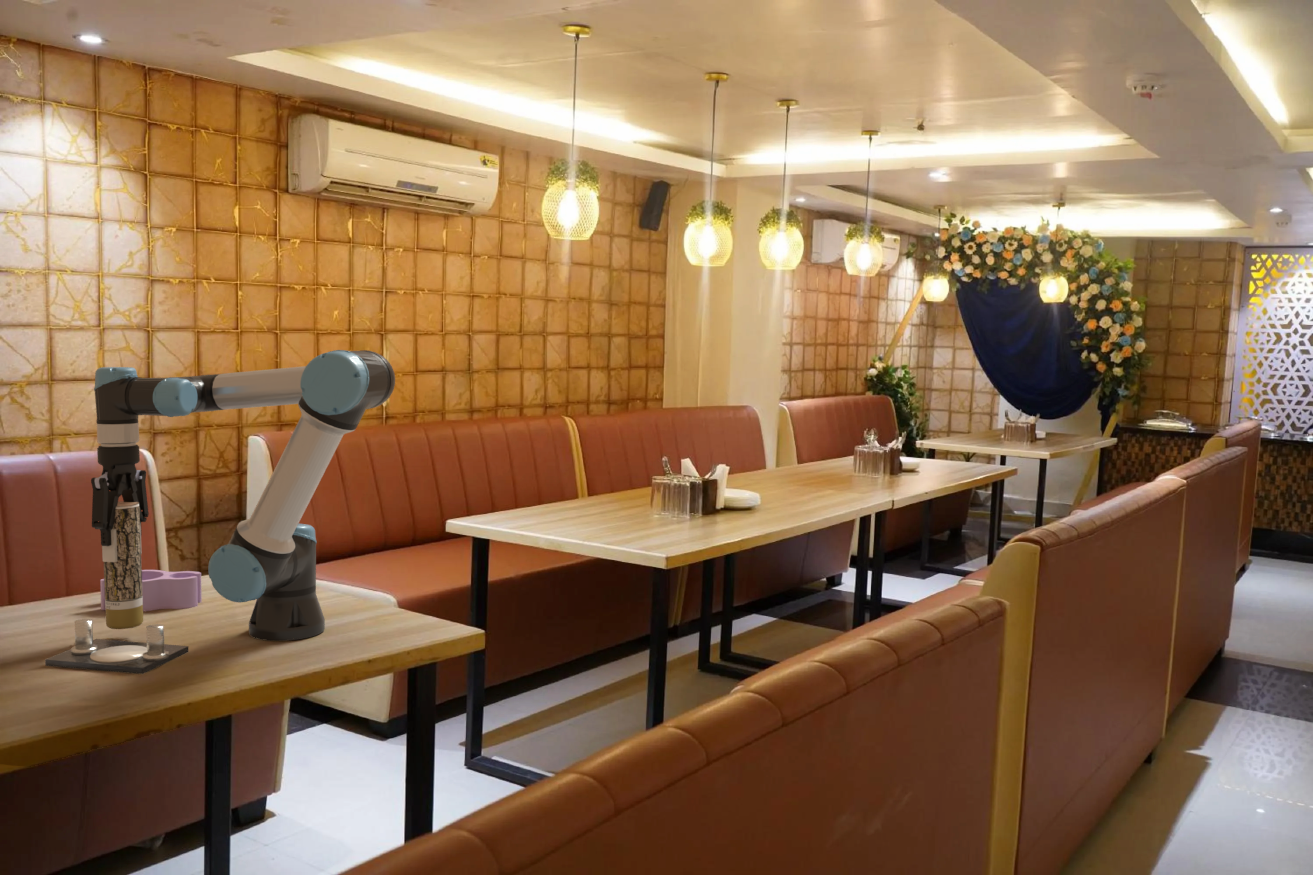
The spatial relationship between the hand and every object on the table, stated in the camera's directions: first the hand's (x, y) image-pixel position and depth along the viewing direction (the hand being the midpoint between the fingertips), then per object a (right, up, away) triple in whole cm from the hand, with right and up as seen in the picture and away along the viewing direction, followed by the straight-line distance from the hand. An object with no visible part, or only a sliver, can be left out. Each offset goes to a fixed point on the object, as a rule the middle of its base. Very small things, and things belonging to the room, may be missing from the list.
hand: (122, 557), depth 214 cm
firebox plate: (+5, -18, -11) cm, 22 cm away
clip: (-7, -14, +28) cm, 33 cm away
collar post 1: (-2, -17, -11) cm, 20 cm away
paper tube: (0, -14, +1) cm, 14 cm away
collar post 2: (+13, -17, -14) cm, 26 cm away
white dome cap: (+6, -17, -13) cm, 22 cm away
